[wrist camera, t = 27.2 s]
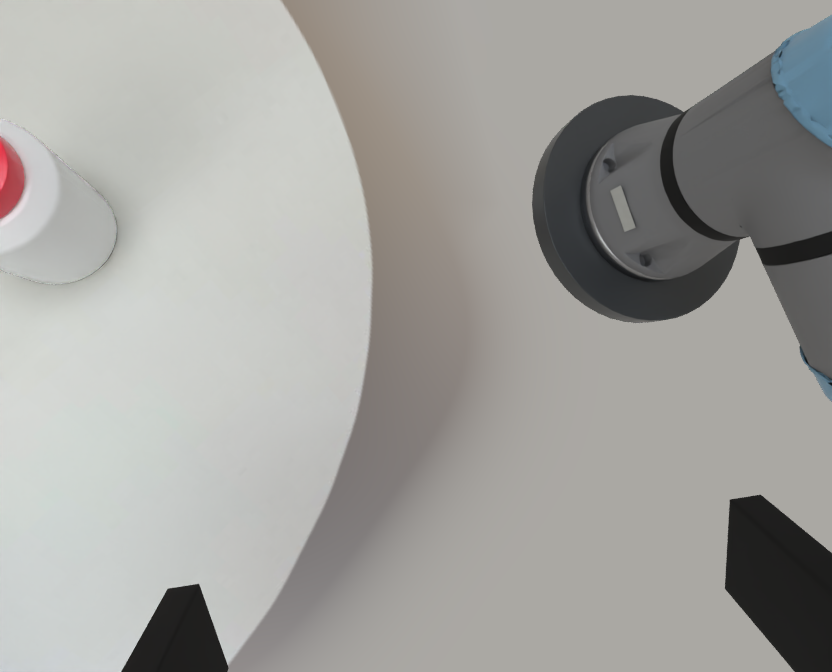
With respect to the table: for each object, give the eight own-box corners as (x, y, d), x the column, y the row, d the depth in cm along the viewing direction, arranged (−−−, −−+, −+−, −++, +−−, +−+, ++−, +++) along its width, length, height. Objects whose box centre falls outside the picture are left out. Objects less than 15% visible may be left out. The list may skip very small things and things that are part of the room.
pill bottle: (-24, 184, 32) (-182, 94, 22) (102, 167, 34) (13, 75, 24) (4, 295, 32) (-141, 259, 22) (129, 271, 34) (51, 227, 24)
